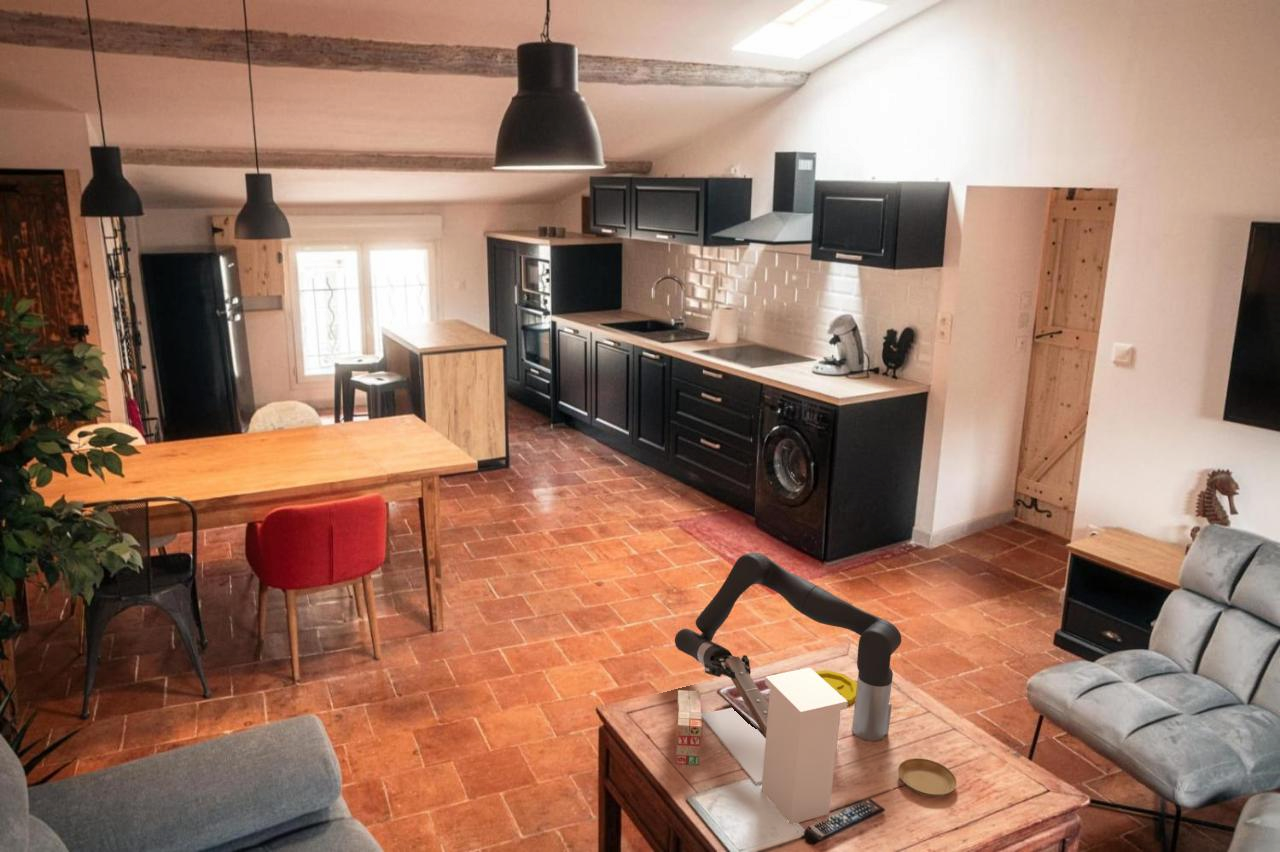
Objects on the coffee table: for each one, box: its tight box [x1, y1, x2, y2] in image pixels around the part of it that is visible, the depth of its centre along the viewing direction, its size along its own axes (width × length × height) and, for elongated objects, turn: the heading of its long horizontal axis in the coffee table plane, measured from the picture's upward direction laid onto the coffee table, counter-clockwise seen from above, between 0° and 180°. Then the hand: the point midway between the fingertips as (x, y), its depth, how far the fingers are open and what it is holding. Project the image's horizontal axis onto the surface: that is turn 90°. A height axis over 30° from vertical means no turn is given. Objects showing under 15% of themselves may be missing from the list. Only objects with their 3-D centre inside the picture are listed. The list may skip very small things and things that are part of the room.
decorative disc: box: [814, 669, 857, 706], centre depth 274 cm, size 17×18×2 cm
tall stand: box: [761, 667, 848, 825], centre depth 220 cm, size 13×16×32 cm
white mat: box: [701, 707, 766, 785], centre depth 246 cm, size 12×32×1 cm, turn 23°
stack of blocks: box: [675, 689, 703, 766], centre depth 245 cm, size 21×6×12 cm, turn 177°
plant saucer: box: [897, 757, 958, 798], centre depth 233 cm, size 15×15×3 cm
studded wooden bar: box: [725, 656, 769, 735], centre depth 241 cm, size 4×24×3 cm, turn 21°
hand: (741, 673), depth 245 cm, fingers closed on studded wooden bar, 4 cm apart
